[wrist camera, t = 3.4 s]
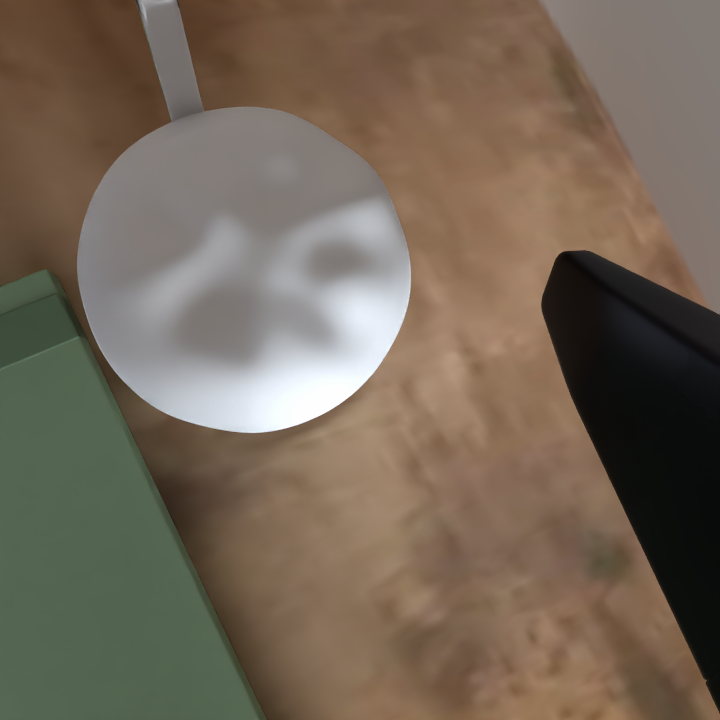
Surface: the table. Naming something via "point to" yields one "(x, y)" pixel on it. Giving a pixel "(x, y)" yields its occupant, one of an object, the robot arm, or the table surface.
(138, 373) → the milkshake
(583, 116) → the table surface
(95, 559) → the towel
